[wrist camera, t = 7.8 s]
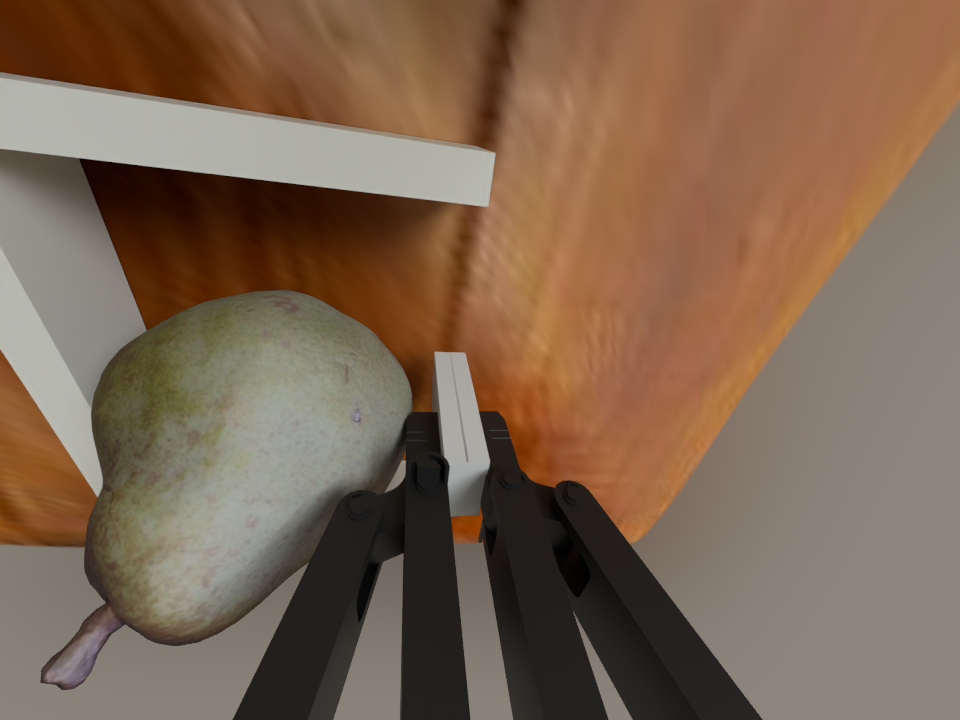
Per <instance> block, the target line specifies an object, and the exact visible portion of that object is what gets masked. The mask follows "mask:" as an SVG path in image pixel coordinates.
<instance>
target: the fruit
mask: <svg viewBox="0 0 960 720" xmlns="http://www.w3.org/2000/svg"><path fill="white" fill-rule="evenodd" d="M411 414H412V392H411V387H410V383H409V381H408V379H407V377H406V374H405V372H404V370H403V368H402V367H401V365H400V363H399V362H398V360H397V359H396V358H395V357H394V355H393V354H392V353H391V352H390V351H389V350H388V348H387V347H386V346H385V345H384V344H383V343H382V341H381V340H380V339H379V338H378V336H377V335H376V334H374V333H373V332H372V331H371V330H370V329H369V328H367V327H366V326H364V325H363V324H361V323H359V322H358V321H356V320H355V319H353V318H351V317H349V316H347V315H345V314H343V313H341V312H339V311H338V310H336V309H334V308H333V307H331V306H330V305H328V304H326V303H325V302H323V301H321V300H319V299H317V298H315V297H312V296H310V295H306V294H303V293H299V292H295V291H289V290H272V291H255V292H250V293H245V294H240V295H235V296H229V297H224V298H219V299H215V300H211V301H207V302H204V303H201V304H198V305H195V306H193V307H190V308H188V309H186V310H184V311H182V312H180V313H178V314H176V315H174V316H172V317H170V318H168V319H166V320H164V321H162V322H161V323H159V324H158V325H156V326H154V327H152V328H151V329H149V330H147V331H146V332H144V333H142V334H141V335H139V336H138V337H136V338H135V339H133V340H132V341H130V342H129V343H128V344H126V345H125V346H124V347H122V348H121V349H120V350H119V351H118V352H117V354H116V355H115V356H114V357H113V358H112V359H111V360H110V362H109V363H108V365H107V366H106V368H105V369H104V371H103V372H102V374H101V378H100V381H99V383H98V385H97V388H96V390H95V392H94V397H93V402H92V409H91V423H92V433H93V438H94V442H95V447H96V451H97V455H98V459H99V463H100V468H101V472H102V477H103V484H102V489H101V492H100V494H99V496H98V498H97V501H96V503H95V506H94V508H93V511H92V513H91V516H90V518H89V521H88V526H87V533H86V543H85V555H84V556H85V557H84V568H85V573H86V576H87V578H88V581H89V583H90V584H91V585H92V587H93V588H94V589H95V590H96V591H97V592H98V593H99V595H100V596H101V597H102V598H103V600H104V601H105V602H106V604H104V605H103V606H101V607H99V608H98V609H96V610H95V611H94V612H93V613H92V614H91V615H90V616H89V617H88V618H87V619H85V621H84V622H83V623H82V626H81V627H80V629H79V631H78V632H77V633H76V635H75V636H74V637H73V638H72V640H71V641H70V642H69V643H68V644H67V645H66V646H65V647H64V648H63V649H62V650H61V651H60V652H58V653H57V654H56V655H54V656H53V657H52V658H51V659H50V660H49V661H48V662H47V663H46V665H45V666H44V667H43V668H42V670H41V683H46V684H55V685H57V686H58V687H59V688H61V689H62V690H68V689H74V688H76V687H77V686H79V685H80V684H82V683H83V682H84V681H85V679H86V678H87V676H88V675H89V674H90V672H91V671H92V668H93V666H94V663H95V660H96V658H97V655H98V653H99V651H100V650H101V649H102V647H103V646H104V644H105V643H106V641H107V640H108V638H109V637H110V635H111V634H112V633H114V632H115V631H117V630H118V629H119V628H121V627H122V626H123V625H125V624H126V625H127V626H128V627H130V628H131V629H133V630H135V631H136V632H138V633H140V634H141V635H142V636H144V637H145V638H146V639H148V640H150V641H152V642H155V643H159V644H165V645H171V646H180V645H186V644H191V643H197V642H200V641H202V640H204V639H207V638H209V637H211V636H214V635H216V634H218V633H220V632H221V631H223V630H225V629H226V628H228V627H230V626H231V625H233V624H234V623H236V622H238V621H239V620H240V619H242V618H243V617H244V616H245V615H247V614H248V613H249V612H250V611H251V610H253V609H254V608H255V607H256V606H258V605H259V604H260V603H261V602H262V601H263V600H264V599H265V598H267V597H268V596H269V595H270V594H271V593H272V592H273V591H274V590H275V589H276V588H277V587H278V586H280V585H281V584H282V583H283V582H284V581H285V580H286V579H288V578H289V577H290V576H291V575H292V574H294V573H295V572H296V571H297V570H299V569H300V568H301V567H303V566H304V565H305V564H307V563H308V562H310V560H311V558H312V556H313V554H314V552H315V550H316V548H317V546H318V544H319V542H320V540H321V538H322V535H323V533H324V531H325V529H326V527H327V525H328V523H329V521H330V519H331V517H332V515H333V513H334V511H335V509H336V507H337V505H338V503H339V502H340V501H341V499H342V498H343V497H345V496H346V495H348V494H349V493H351V492H354V491H357V490H369V491H372V492H375V493H376V494H377V495H379V494H382V493H384V492H385V491H386V489H387V488H388V486H389V484H390V482H391V481H392V479H393V477H394V475H395V473H396V471H397V469H398V467H399V465H400V463H401V461H402V459H403V456H404V453H405V450H406V434H407V420H408V419H409V417H410V415H411Z"/></svg>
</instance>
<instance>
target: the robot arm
mask: <svg viewBox="0 0 960 720" xmlns="http://www.w3.org/2000/svg"><path fill="white" fill-rule="evenodd" d="M431 409H432V412H412V414H411V415H410V417H409V419H408V420H407V434H406V473H405V477H404V479H403V481H402V482H401V483H400V484H399V485H398V486H397V487H396V488H394V489H393V490H390V491H388V492H385V493H382V494H379V495H377V494H376V493H375V492H372V491H369V490H357V491H354V492H351V493H349V494H348V495H346V496H345V497H343V498H342V499H341V501H340V502H339V503H338V505H337V507H336V509H335V511H334V513H333V515H332V517H331V519H330V521H329V523H328V525H327V527H326V529H325V531H324V533H323V535H322V538H321V540H320V542H319V544H318V546H317V548H316V550H315V552H314V554H313V556H312V558H311V560H310V562H309V564H308V566H307V568H306V570H305V572H304V574H303V577H302V579H301V581H300V583H299V585H298V587H297V589H296V591H295V593H294V595H293V597H292V599H291V601H290V603H289V606H288V607H287V609H286V611H285V613H284V615H283V618H282V620H281V622H280V624H279V626H278V628H277V630H276V632H275V634H274V636H273V638H272V640H271V642H270V644H269V646H268V648H267V651H266V652H265V654H264V656H263V659H262V661H261V663H260V665H259V667H258V669H257V671H256V673H255V675H254V677H253V679H252V681H251V683H250V685H249V687H248V689H247V691H246V693H245V695H244V698H243V700H242V702H241V704H240V706H239V708H238V710H237V712H236V714H235V716H234V718H233V720H333V719H334V715H335V712H336V709H337V705H338V703H339V699H340V696H341V693H342V690H343V687H344V684H345V680H346V677H347V674H348V671H349V668H350V664H351V661H352V658H353V655H354V652H355V649H356V645H357V642H358V639H359V636H360V633H361V629H362V626H363V623H364V620H365V617H366V614H367V610H368V607H369V604H370V601H371V598H372V594H373V591H374V588H375V585H376V582H377V578H378V575H379V572H380V569H381V566H382V563H383V561H386V560H388V559H390V558H393V557H395V556H397V555H400V554H402V553H404V561H403V608H402V653H401V654H402V655H401V700H400V701H401V702H400V720H470V711H469V701H468V690H467V680H466V670H465V659H464V649H463V639H462V628H461V618H460V607H459V597H458V588H457V576H456V566H455V556H454V545H453V535H452V524H451V516H463V515H479V512H480V507H481V510H482V515H483V519H482V524H481V528H480V533H479V541H478V543H480V542H482V538H483V543H484V549H485V555H486V560H487V566H488V572H489V578H490V584H491V590H492V596H493V602H494V608H495V613H496V620H497V626H498V631H499V637H500V643H501V649H502V655H503V660H504V666H505V673H506V679H507V685H508V690H509V696H510V702H511V709H512V714H513V720H608V717H607V714H606V711H605V708H604V705H603V701H602V698H601V695H600V692H599V689H598V686H597V683H596V680H595V677H594V674H593V671H592V668H591V665H590V662H589V659H588V656H587V653H586V650H585V647H584V644H583V641H582V638H581V634H580V632H579V629H578V625H577V622H576V619H575V616H574V613H575V615H576V616H577V618H578V620H579V622H580V624H581V625H582V627H583V629H584V631H585V633H586V635H587V636H588V638H589V640H590V642H591V644H592V646H593V648H594V649H595V651H596V653H597V655H598V657H599V658H600V660H601V662H602V664H603V666H604V668H605V670H606V671H607V673H608V675H609V677H610V679H611V681H612V682H613V684H614V686H615V688H616V690H617V692H618V693H619V695H620V697H621V699H622V701H623V703H624V704H625V706H626V708H627V710H628V712H629V713H630V715H631V717H632V719H633V720H762V718H761V717H760V716H759V714H758V713H757V712H756V710H755V709H754V708H753V706H752V705H751V704H750V702H749V701H748V700H747V699H746V697H745V696H744V695H743V693H742V692H741V691H740V689H739V688H738V687H737V685H736V684H735V683H734V681H733V680H732V679H731V677H730V676H729V675H728V673H727V672H726V671H725V670H724V668H723V667H722V666H721V664H720V663H719V662H718V660H717V659H716V658H715V656H714V655H713V654H712V652H711V651H710V650H709V648H708V647H707V646H706V644H705V643H704V642H703V641H702V639H701V638H700V636H699V635H698V634H697V633H696V632H695V630H694V629H693V627H692V626H691V625H690V623H689V622H688V621H687V619H686V618H685V617H684V616H683V614H682V613H681V612H680V610H679V609H678V608H677V606H676V605H675V604H674V602H673V601H672V600H671V598H670V597H669V596H668V594H667V593H666V592H665V590H664V589H663V588H662V586H661V585H660V584H659V583H658V581H657V580H656V578H655V577H654V576H653V574H652V573H651V572H650V571H649V569H648V568H647V567H646V565H645V564H644V563H643V561H642V560H641V559H640V557H639V556H638V555H637V553H636V552H635V551H634V549H633V548H632V547H631V545H630V544H629V543H628V541H627V540H626V539H625V537H624V536H623V535H622V533H621V532H620V531H619V530H618V528H617V527H616V526H615V524H614V523H613V522H612V520H611V519H610V518H609V516H608V515H607V514H606V512H605V511H604V510H603V508H602V507H601V506H600V504H599V503H598V502H597V500H596V499H595V498H594V497H593V495H592V494H591V493H590V491H589V490H588V489H587V488H586V487H585V486H583V485H581V484H579V483H578V482H574V481H570V480H568V481H562V482H560V483H558V484H557V485H556V487H555V488H553V487H549V486H545V485H541V484H538V483H535V482H533V481H532V480H530V479H529V478H528V476H527V475H526V474H525V473H524V472H523V471H522V470H521V469H520V467H519V464H518V461H517V458H516V454H515V451H514V448H513V445H512V441H511V439H510V435H509V432H508V429H507V425H506V422H505V419H504V418H503V417H502V416H501V415H500V414H499V413H498V412H497V411H478V406H477V402H476V397H475V393H474V389H473V384H472V380H471V376H470V371H469V367H468V363H467V358H466V354H465V353H455V352H434V364H433V377H432V390H431ZM572 609H573V610H572ZM573 611H574V613H573Z"/></svg>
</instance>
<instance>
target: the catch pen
mask: <svg viewBox="0 0 960 720" xmlns="http://www.w3.org/2000/svg"><path fill="white" fill-rule="evenodd" d="M495 154H496V153H494V152H491V151H488V150H485V149H483V148H480V147H477V146H473V145H466V144H460V143H454V142H447V141H441V140H434V139H428V138H421V137H415V136H408V135H402V134H395V133H389V132H383V131H376V130H370V129H363V128H357V127H350V126H344V125H337V124H331V123H324V122H318V121H311V120H305V119H299V118H292V117H286V116H279V115H273V114H266V113H260V112H253V111H247V110H240V109H234V108H228V107H221V106H215V105H208V104H202V103H195V102H189V101H182V100H176V99H169V98H163V97H156V96H150V95H144V94H137V93H131V92H124V91H118V90H111V89H105V88H98V87H92V86H85V85H79V84H73V83H66V82H60V81H53V80H47V79H40V78H34V77H27V76H21V75H14V74H8V73H2V72H0V349H1V351H2V352H3V354H4V355H5V357H6V358H7V360H8V361H9V363H10V365H11V366H12V368H13V369H14V371H15V372H16V374H17V375H18V377H19V378H20V380H21V381H22V383H23V384H24V386H25V387H26V389H27V390H28V392H29V393H30V395H31V397H32V398H33V400H34V401H35V403H36V404H37V406H38V407H39V409H40V410H41V412H42V413H43V415H44V416H45V418H46V419H47V421H48V422H49V424H50V425H51V427H52V429H53V430H54V432H55V433H56V435H57V436H58V438H59V439H60V441H61V442H62V444H63V445H64V447H65V448H66V450H67V451H68V453H69V454H70V456H71V457H72V459H73V461H74V462H75V464H76V465H77V467H78V468H79V470H80V471H81V473H82V474H83V476H84V477H85V479H86V480H87V482H88V483H89V485H90V486H91V488H92V489H93V491H94V493H95V494H96V496H97V497H98V496H99V494H100V492H101V489H102V484H103V477H102V472H101V468H100V463H99V459H98V455H97V451H96V447H95V442H94V438H93V433H92V423H91V409H92V402H93V397H94V392H95V390H96V388H97V385H98V383H99V381H100V378H101V374H102V372H103V371H104V369H105V368H106V366H107V365H108V363H109V362H110V360H111V359H112V358H113V357H114V356H115V355H116V354H117V352H118V351H119V350H120V349H121V348H122V347H124V346H125V345H126V344H128V343H129V342H130V341H132V340H133V339H135V338H136V337H138V336H139V335H141V334H142V333H144V332H146V331H147V330H146V327H145V325H144V322H143V320H142V317H141V315H140V312H139V310H138V307H137V305H136V302H135V300H134V297H133V294H132V292H131V289H130V287H129V284H128V282H127V279H126V277H125V274H124V272H123V269H122V267H121V264H120V262H119V259H118V256H117V254H116V251H115V249H114V246H113V244H112V241H111V239H110V236H109V234H108V231H107V229H106V226H105V224H104V221H103V219H102V216H101V213H100V211H99V208H98V206H97V203H96V201H95V198H94V196H93V193H92V191H91V188H90V186H89V183H88V181H87V178H86V175H85V173H84V170H83V168H82V165H81V163H80V160H79V158H83V159H91V160H100V161H108V162H116V163H125V164H133V165H141V166H150V167H158V168H167V169H175V170H183V171H192V172H200V173H208V174H217V175H225V176H233V177H242V178H250V179H258V180H267V181H275V182H284V183H292V184H300V185H309V186H317V187H325V188H334V189H342V190H350V191H359V192H367V193H376V194H384V195H392V196H401V197H409V198H417V199H426V200H434V201H442V202H451V203H459V204H468V205H476V206H484V207H488V204H489V197H490V190H491V182H492V175H493V168H494V161H495ZM405 473H406V460H403V461H401V463H400V465H399V467H398V469H397V471H396V473H395V475H394V477H393V479H392V481H391V482H390V484H389V486H388V488H387V489H386V491H385V492H388V491H390V490H393V489H394V488H396V487H397V486H398V485H399V484H400V483H401V482H402V481H403V479H404V477H405ZM385 492H384V493H385Z"/></svg>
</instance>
